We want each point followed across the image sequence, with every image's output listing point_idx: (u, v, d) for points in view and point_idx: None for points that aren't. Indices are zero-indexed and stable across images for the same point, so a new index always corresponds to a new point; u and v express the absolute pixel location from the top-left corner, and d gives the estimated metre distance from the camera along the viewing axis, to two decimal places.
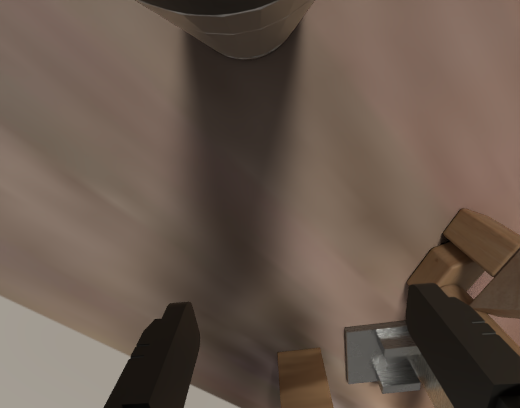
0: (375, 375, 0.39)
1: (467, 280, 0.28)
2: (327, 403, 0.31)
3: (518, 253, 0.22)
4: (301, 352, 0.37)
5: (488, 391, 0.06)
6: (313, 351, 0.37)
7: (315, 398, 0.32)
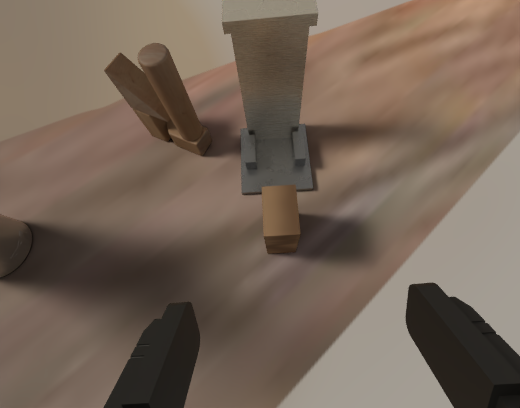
0: (301, 166, 0.42)
1: None
2: None
3: (133, 108, 0.41)
4: None
5: (488, 391, 0.06)
6: None
7: None
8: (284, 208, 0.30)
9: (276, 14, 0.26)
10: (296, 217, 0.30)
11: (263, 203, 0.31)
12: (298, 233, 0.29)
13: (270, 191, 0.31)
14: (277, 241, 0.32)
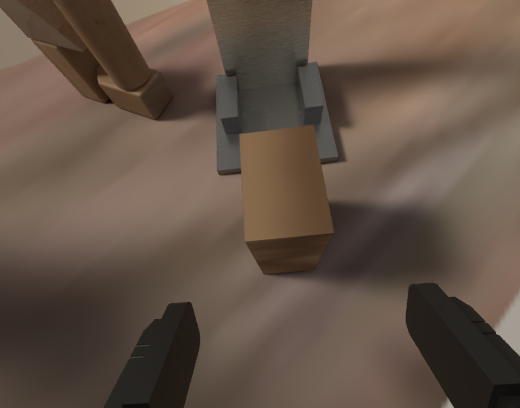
0: (316, 123, 0.25)
1: None
2: None
3: (31, 37, 0.24)
4: None
5: (488, 391, 0.06)
6: None
7: None
8: (291, 175, 0.13)
9: None
10: (320, 194, 0.13)
11: (243, 167, 0.14)
12: (328, 231, 0.12)
13: (260, 142, 0.14)
14: (279, 252, 0.15)
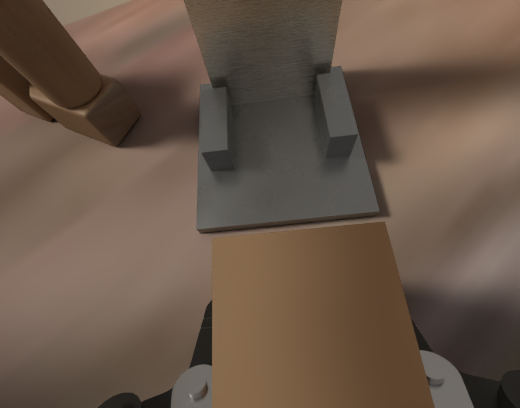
0: (344, 157, 0.17)
1: None
2: None
3: None
4: None
5: None
6: None
7: None
8: (340, 373, 0.05)
9: None
10: None
11: (218, 337, 0.05)
12: None
13: (259, 263, 0.06)
14: None
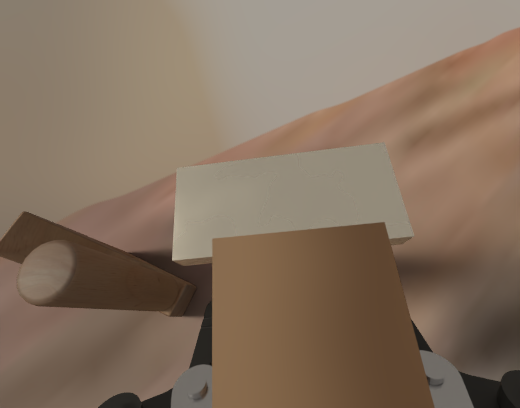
0: None
1: None
2: None
3: None
4: None
5: None
6: None
7: None
8: (340, 373, 0.05)
9: None
10: None
11: (218, 338, 0.05)
12: None
13: (259, 263, 0.06)
14: None
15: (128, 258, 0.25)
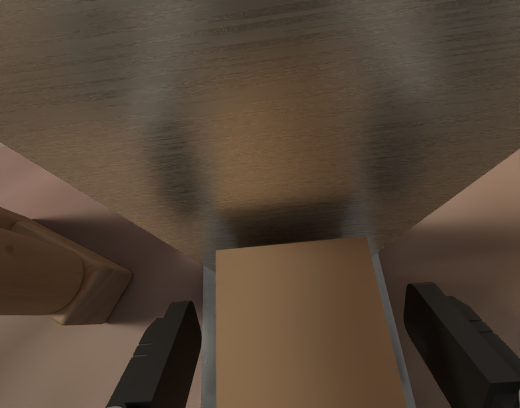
0: None
1: None
2: None
3: None
4: None
5: (484, 389, 0.06)
6: None
7: None
8: (325, 367, 0.06)
9: None
10: None
11: (221, 337, 0.06)
12: None
13: (256, 272, 0.07)
14: None
15: None
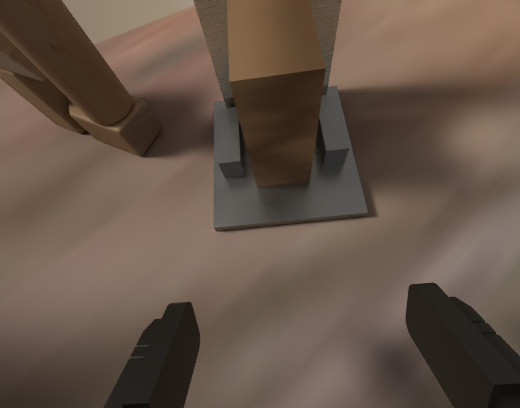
0: (338, 166, 0.20)
1: None
2: None
3: None
4: None
5: (488, 391, 0.06)
6: None
7: None
8: (280, 24, 0.12)
9: None
10: (311, 38, 0.12)
11: (230, 21, 0.13)
12: (320, 67, 0.11)
13: (248, 0, 0.13)
14: (269, 121, 0.14)
15: None
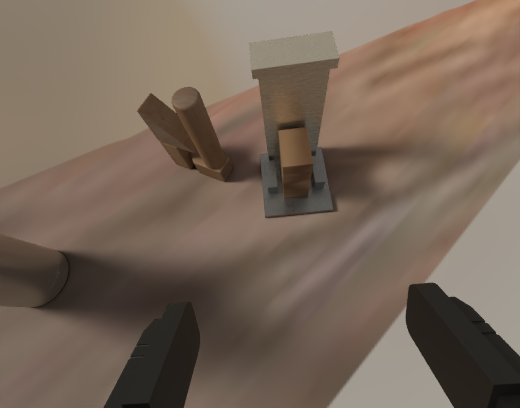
0: (321, 188, 0.44)
1: None
2: (279, 146, 0.40)
3: (161, 141, 0.43)
4: None
5: (488, 391, 0.06)
6: None
7: (280, 155, 0.40)
8: (298, 145, 0.36)
9: (300, 60, 0.28)
10: (308, 151, 0.36)
11: (280, 142, 0.37)
12: (311, 163, 0.35)
13: (286, 133, 0.37)
14: (293, 176, 0.38)
15: None
